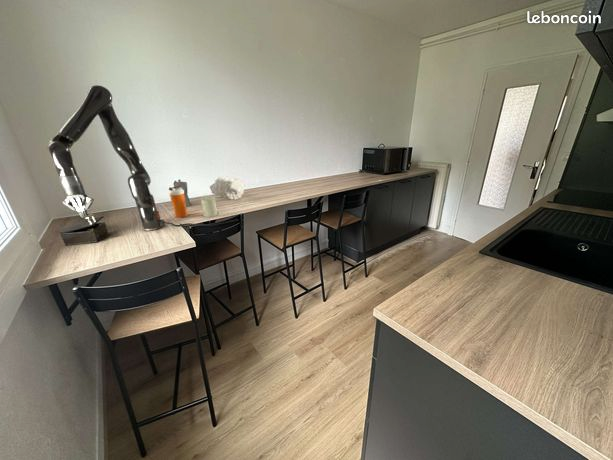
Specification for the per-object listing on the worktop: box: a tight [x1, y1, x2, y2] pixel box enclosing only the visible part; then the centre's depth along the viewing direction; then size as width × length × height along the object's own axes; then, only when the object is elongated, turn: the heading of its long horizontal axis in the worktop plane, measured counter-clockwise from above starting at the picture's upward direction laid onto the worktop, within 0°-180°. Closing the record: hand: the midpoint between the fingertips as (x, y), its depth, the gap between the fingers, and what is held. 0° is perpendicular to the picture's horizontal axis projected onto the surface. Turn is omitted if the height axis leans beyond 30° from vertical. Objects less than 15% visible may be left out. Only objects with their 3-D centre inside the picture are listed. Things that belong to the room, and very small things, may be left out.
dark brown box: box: [60, 222, 109, 247], centre depth 136 cm, size 15×13×7 cm
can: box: [200, 196, 218, 218], centre depth 170 cm, size 9×9×12 cm
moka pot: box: [172, 179, 191, 208], centre depth 187 cm, size 10×15×20 cm, turn 58°
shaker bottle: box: [168, 186, 188, 219], centre depth 166 cm, size 9×9×20 cm
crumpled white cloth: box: [209, 175, 245, 201], centre depth 204 cm, size 18×18×25 cm
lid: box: [59, 213, 105, 235], centre depth 134 cm, size 15×13×5 cm
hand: (84, 217), depth 129 cm, fingers closed
